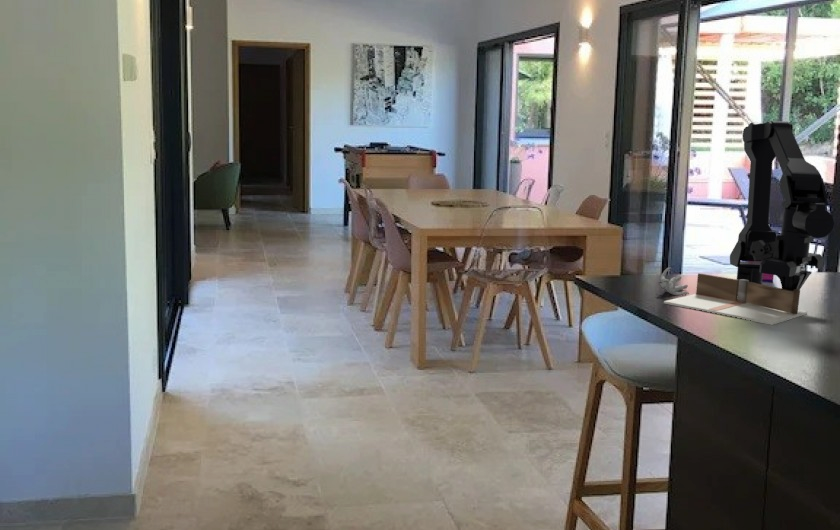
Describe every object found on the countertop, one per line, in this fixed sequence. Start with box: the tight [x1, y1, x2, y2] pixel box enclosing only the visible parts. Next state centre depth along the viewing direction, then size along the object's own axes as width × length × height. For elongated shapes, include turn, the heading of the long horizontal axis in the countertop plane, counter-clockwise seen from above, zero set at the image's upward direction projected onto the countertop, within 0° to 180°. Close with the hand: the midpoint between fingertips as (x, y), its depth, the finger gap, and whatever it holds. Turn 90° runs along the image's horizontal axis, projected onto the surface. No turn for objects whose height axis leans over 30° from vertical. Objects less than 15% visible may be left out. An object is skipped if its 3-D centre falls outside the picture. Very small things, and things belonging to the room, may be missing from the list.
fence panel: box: [746, 282, 801, 314], centre depth 186 cm, size 12×1×5 cm, turn 33°
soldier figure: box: [656, 266, 690, 296], centre depth 203 cm, size 8×5×12 cm
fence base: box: [695, 272, 749, 303], centre depth 196 cm, size 2×12×5 cm, turn 45°
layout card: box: [663, 293, 808, 326], centre depth 188 cm, size 17×24×1 cm
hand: (788, 303), depth 186 cm, fingers closed
